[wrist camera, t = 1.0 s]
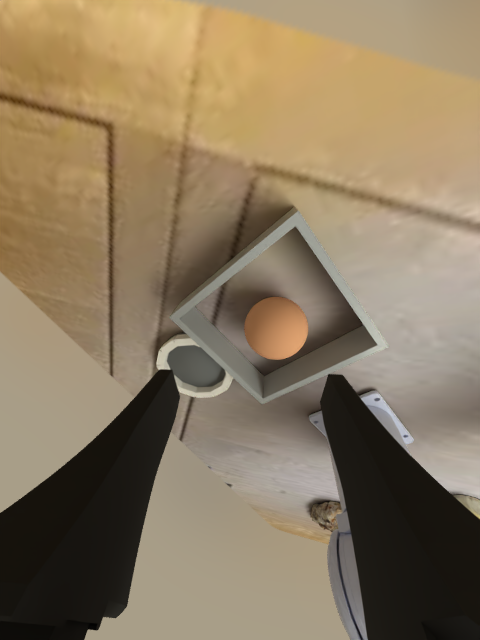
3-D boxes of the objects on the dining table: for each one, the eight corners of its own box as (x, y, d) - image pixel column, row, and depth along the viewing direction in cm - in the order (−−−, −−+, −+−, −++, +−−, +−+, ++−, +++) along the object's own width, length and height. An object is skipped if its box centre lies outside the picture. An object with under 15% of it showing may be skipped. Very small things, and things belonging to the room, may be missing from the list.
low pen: (374, 325, 20) (389, 346, 17) (262, 381, 25) (261, 404, 22) (294, 206, 16) (298, 210, 14) (181, 301, 21) (168, 317, 19)
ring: (250, 370, 24) (249, 378, 23) (198, 398, 28) (195, 406, 27) (196, 317, 22) (193, 324, 21) (147, 355, 25) (142, 362, 24)
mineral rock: (297, 520, 37) (347, 532, 32) (300, 488, 40) (346, 495, 35) (331, 543, 40) (380, 557, 35) (331, 513, 43) (377, 521, 38)
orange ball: (315, 318, 20) (326, 353, 16) (269, 344, 22) (268, 382, 18) (282, 275, 19) (284, 302, 15) (236, 308, 21) (226, 340, 17)
